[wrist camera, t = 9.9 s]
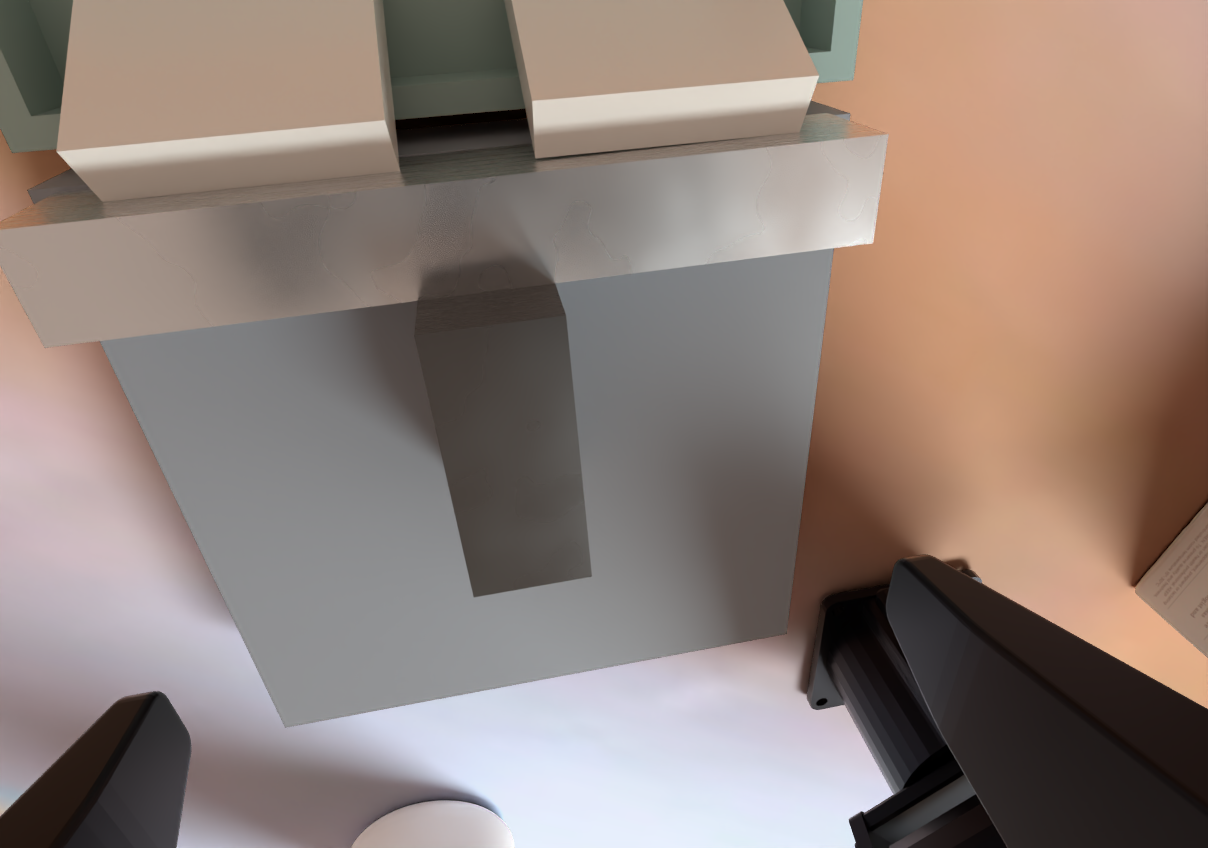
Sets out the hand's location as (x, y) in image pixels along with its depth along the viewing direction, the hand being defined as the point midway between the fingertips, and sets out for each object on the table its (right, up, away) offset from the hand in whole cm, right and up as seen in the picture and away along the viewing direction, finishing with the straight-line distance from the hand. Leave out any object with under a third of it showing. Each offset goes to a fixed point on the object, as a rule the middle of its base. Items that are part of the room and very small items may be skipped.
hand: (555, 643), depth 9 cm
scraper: (-2, +5, +7) cm, 9 cm away
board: (-2, +3, +12) cm, 12 cm away
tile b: (-6, +9, +5) cm, 12 cm away
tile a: (+1, +10, +5) cm, 11 cm away
